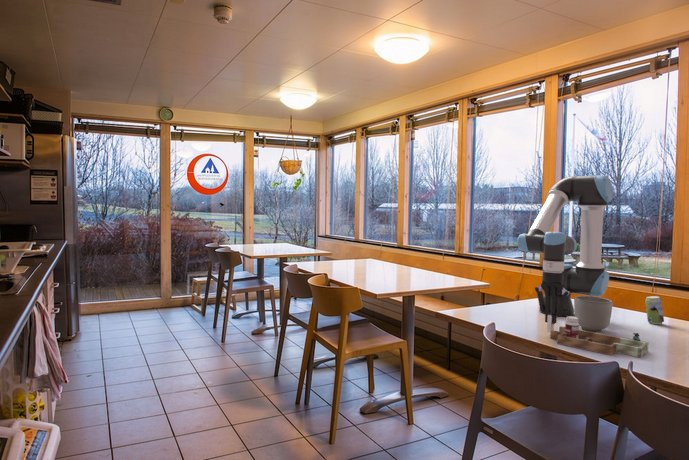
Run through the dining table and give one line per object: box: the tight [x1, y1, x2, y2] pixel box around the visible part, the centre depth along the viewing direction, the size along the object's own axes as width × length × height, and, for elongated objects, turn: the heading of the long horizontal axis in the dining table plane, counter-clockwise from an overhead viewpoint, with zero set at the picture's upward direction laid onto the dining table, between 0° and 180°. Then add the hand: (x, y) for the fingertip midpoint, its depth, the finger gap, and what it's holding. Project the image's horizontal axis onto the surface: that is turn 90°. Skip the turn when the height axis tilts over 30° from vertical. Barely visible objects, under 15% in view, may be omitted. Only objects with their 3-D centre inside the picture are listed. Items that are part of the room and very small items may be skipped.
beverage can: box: [644, 295, 665, 325], centre depth 208 cm, size 6×7×12 cm
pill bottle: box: [564, 316, 580, 339], centre depth 179 cm, size 5×5×8 cm
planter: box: [573, 295, 613, 333], centre depth 193 cm, size 14×14×13 cm
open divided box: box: [549, 325, 649, 358], centre depth 171 cm, size 30×15×3 cm, turn 46°
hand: (550, 331), depth 185 cm, fingers closed
